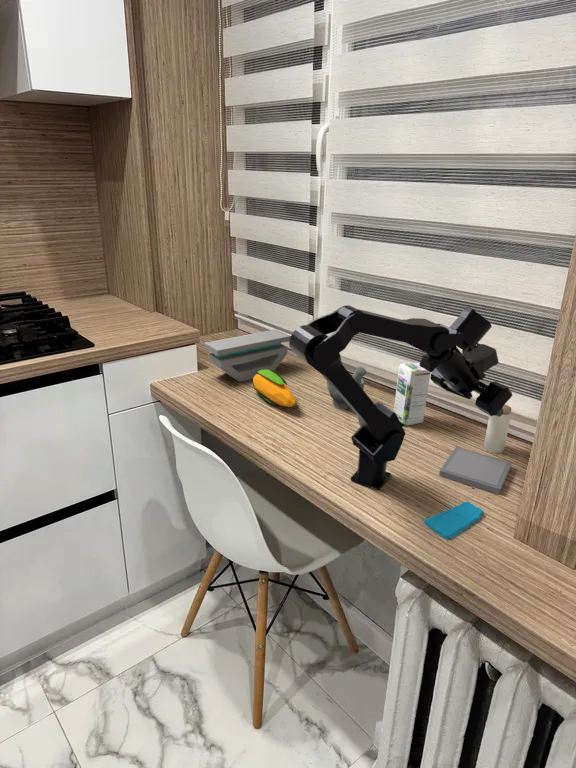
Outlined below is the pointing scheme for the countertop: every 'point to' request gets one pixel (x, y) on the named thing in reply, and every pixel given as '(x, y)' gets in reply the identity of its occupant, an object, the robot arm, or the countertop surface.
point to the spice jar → (497, 431)
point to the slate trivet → (476, 470)
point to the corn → (273, 388)
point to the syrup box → (411, 393)
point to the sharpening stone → (248, 353)
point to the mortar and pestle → (336, 397)
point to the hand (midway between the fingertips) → (485, 405)
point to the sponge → (454, 520)
